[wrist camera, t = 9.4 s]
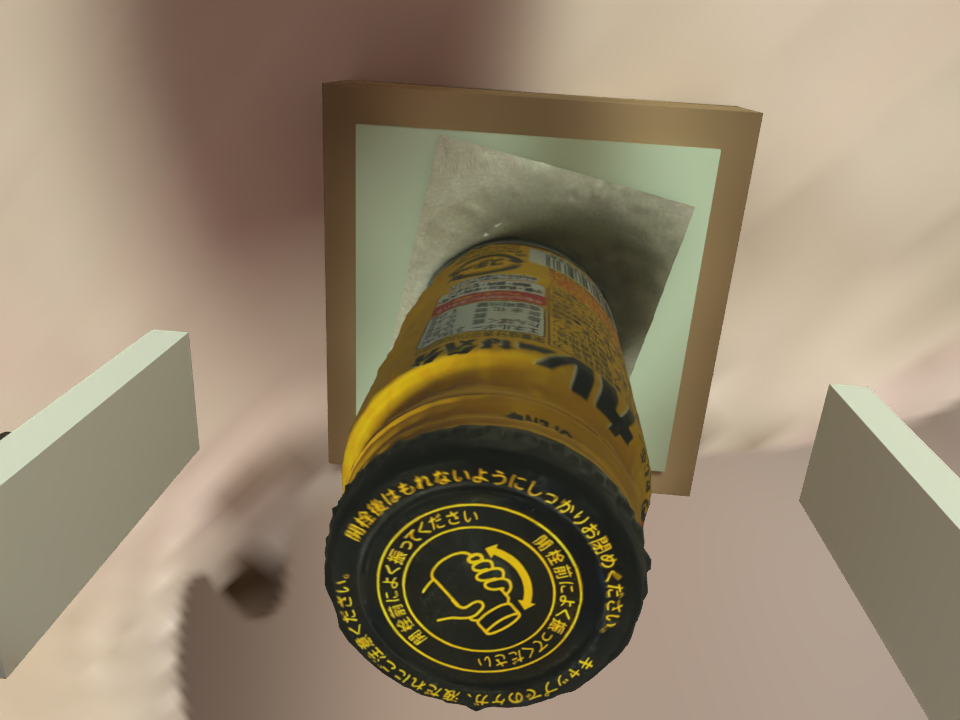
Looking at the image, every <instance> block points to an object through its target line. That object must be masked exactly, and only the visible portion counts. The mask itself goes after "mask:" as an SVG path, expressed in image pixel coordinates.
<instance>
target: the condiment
mask: <svg viewBox="0 0 960 720" xmlns="http://www.w3.org/2000/svg"><path fill="white" fill-rule="evenodd" d="M694 209H695V207H694V206H690V205H687V204H684V203H680V202H677V201H673V200H669V199H665V198H663V197H660V196H657V195H653V194H650V193H646V192H643V191H639V190H636V189H632V188H629V187H625V186H622V185H617V184H614V183H611V182H608V181H605V180H601V179H598V178H594V177H590V176H587V175H583V174H580V173H576V172H573V171H569V170H566V169H562V168H558V167H555V166H552V165H548V164H545V163H543V162H537V161H534V160H530V159H526V158H522V157H518V156H515V155H512V154H508V153H505V152H501V151H498V150H495V149H491V148H488V147H483V146H479V145H476V144H472V143H469V142H465V141H462V140H458V139H455V138H451V137H447V136H444V135H439V139H438V143H437V147H436V152H435V156H434V160H433V164H432V168H431V173H430V177H429V182H428V186H427V190H426V194H425V198H424V202H423V207H422V211H421V217H420V222H419V225H418V229H417V233H416V237H415V241H414V246H413V251H412V255H411V259H410V264H409V268H408V272H407V277H406V281H405V286H404V290H403V295H402V299H401V303H400V307H399V312H398V316H397V320H396V325H395V329H394V333H393V338H392V342H391V346H390V351H389V353H388V354H387V358H386V359H385V360H384V362H383V363H382V364H381V366H380V367H379V369H378V372H377V377H376V379H375V381H374V383H373V385H372V386H371V388H370V391H369V392H368V394H367V396H366V398H365V400H364V402H363V404H362V406H361V408H360V410H359V412H358V414H357V416H356V418H355V420H354V422H353V424H352V426H351V427H350V429H349V435H348V442H347V445H346V449H345V453H344V460H343V466H342V485H343V495H342V497H341V499H340V500H339V501H338V506H336V507H334V508H332V511H333V517H332V520H331V522H330V533H329V535H328V536H327V538H326V548H325V556H326V560H325V586H326V589H327V591H328V594H329V596H330V598H331V600H332V602H333V605H334V607H335V610H336V613H337V617H338V623H339V628H340V629H341V631H342V632H343V634H344V635H345V637H346V638H347V640H348V641H349V642H350V643H351V644H352V645H353V646H354V647H355V648H356V649H357V650H358V651H359V652H360V653H361V654H362V655H363V656H364V657H365V658H366V659H367V660H368V661H369V662H370V663H371V664H373V665H374V666H375V667H376V668H377V669H379V670H380V671H381V672H382V673H384V674H385V675H387V676H388V677H390V678H392V679H393V680H395V681H396V682H398V683H399V684H401V685H403V686H404V687H407V688H410V689H412V690H413V691H415V692H417V693H419V694H421V695H424V696H428V697H433V698H437V699H441V700H443V701H445V702H447V703H453V704H460V705H465V706H467V707H469V708H470V709H473V710H474V711H478V710H481V709H483V708H486V707H505V708H510V707H522V706H528V705H531V704H534V703H538V702H542V701H544V700H547V699H551V698H553V697H555V696H557V695H560V694H563V693H567V692H572V691H574V690H576V689H578V688H579V687H581V686H582V685H583V684H584V683H586V682H587V681H589V680H590V679H592V678H593V677H594V676H595V675H596V674H598V673H599V672H600V671H601V670H602V669H603V668H604V667H605V666H607V665H608V664H609V663H610V662H611V661H613V660H614V659H615V658H616V657H617V656H618V655H619V654H620V653H621V652H622V651H623V650H624V648H625V647H626V646H627V645H628V643H629V641H630V639H631V637H632V634H633V630H634V627H635V623H636V621H637V620H638V617H639V615H640V612H641V609H642V605H643V600H644V599H645V597H646V595H647V593H648V587H647V572H648V570H650V569H651V559H650V557H649V555H648V554H647V552H646V551H645V549H644V535H643V524H644V520H645V516H646V513H647V510H648V507H649V505H650V496H651V493H652V487H651V468H650V464H649V458H648V454H647V449H646V444H645V441H644V436H643V431H642V428H641V424H640V420H639V415H638V412H637V409H636V406H635V401H634V398H633V393H632V388H631V384H630V380H629V379H630V376H631V374H632V372H633V370H634V367H635V363H636V360H637V358H638V355H639V353H640V351H641V348H642V346H643V343H644V342H645V337H646V335H647V333H648V331H649V328H650V326H651V324H652V321H653V319H654V315H655V312H656V309H657V306H658V304H659V301H660V298H661V296H662V294H663V291H664V288H665V285H666V282H667V279H668V277H669V275H670V272H671V269H672V266H673V263H674V261H675V259H676V256H677V254H678V251H679V249H680V246H681V244H682V242H683V239H684V237H685V234H686V231H687V228H688V225H689V222H690V220H691V217H692V215H693V212H694ZM500 223H501V224H500ZM497 224H500V225H499V226H497V227H495V225H497ZM485 233H487V234H489V235H488V236H485V237H484V234H485Z"/></svg>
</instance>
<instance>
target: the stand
mask: <svg viewBox="0 0 960 720" xmlns="http://www.w3.org/2000/svg"><path fill="white" fill-rule="evenodd" d="M322 98H323V156H324V214H325V271H326V329H327V386H328V444H329V463H333V464H343V460H344V453H345V449H346V445H347V442H348V435H349V429H350V427H351V426H352V424H353V422H354V420H355V418H356V416H357V414H358V412H359V410H360V408H361V406H362V404H363V402H364V400H365V398H366V396H367V394H368V392H369V391H370V388H371V386H372V385H373V383H374V381H375V379H376V377H377V372H378V369H379V367H380V366H381V364H382V363H383V362H384V360H385V359H386V358H387V354H388V353H389V351H390V346H391V342H392V338H393V333H394V329H395V325H396V320H397V316H398V312H399V307H400V303H401V299H402V295H403V290H404V286H405V281H406V277H407V272H408V268H409V264H410V259H411V255H412V251H413V246H414V241H415V237H416V233H417V229H418V225H419V222H420V217H421V211H422V207H423V202H424V198H425V194H426V190H427V186H428V182H429V177H430V173H431V168H432V164H433V160H434V156H435V152H436V147H437V143H438V139H439V135H444V136H447V137H451V138H455V139H458V140H462V141H465V142H469V143H472V144H476V145H479V146H483V147H488V148H491V149H495V150H498V151H501V152H505V153H508V154H512V155H515V156H518V157H522V158H526V159H530V160H534V161H537V162H543V163H545V164H548V165H552V166H555V167H558V168H562V169H566V170H569V171H573V172H576V173H580V174H583V175H587V176H590V177H594V178H598V179H601V180H605V181H608V182H611V183H614V184H617V185H622V186H625V187H629V188H632V189H636V190H639V191H643V192H646V193H650V194H653V195H657V196H660V197H663V198H665V199H669V200H673V201H677V202H680V203H684V204H687V205H690V206H694V207H695V209H694V212H693V215H692V217H691V220H690V222H689V225H688V228H687V231H686V234H685V237H684V239H683V242H682V244H681V246H680V249H679V251H678V254H677V256H676V259H675V261H674V263H673V266H672V269H671V272H670V275H669V277H668V279H667V282H666V285H665V288H664V291H663V294H662V296H661V298H660V301H659V304H658V306H657V309H656V312H655V315H654V319H653V321H652V324H651V326H650V328H649V331H648V333H647V335H646V337H645V342H644V343H643V346H642V348H641V351H640V353H639V355H638V358H637V360H636V363H635V367H634V370H633V372H632V374H631V376H630V379H629V380H630V384H631V388H632V393H633V398H634V401H635V406H636V409H637V412H638V415H639V420H640V424H641V428H642V431H643V436H644V441H645V444H646V449H647V454H648V458H649V464H650V468H651V487H652V493H658V494H669V495H679V496H690V491H691V485H692V480H693V475H694V470H695V464H696V459H697V454H698V449H699V444H700V439H701V434H702V428H703V423H704V418H705V413H706V408H707V402H708V397H709V392H710V387H711V382H712V376H713V371H714V366H715V361H716V356H717V350H718V345H719V340H720V335H721V330H722V324H723V319H724V314H725V309H726V304H727V298H728V293H729V288H730V283H731V278H732V272H733V267H734V262H735V257H736V252H737V246H738V241H739V236H740V231H741V226H742V220H743V215H744V210H745V205H746V200H747V194H748V189H749V184H750V179H751V174H752V168H753V163H754V158H755V153H756V148H757V142H758V137H759V132H760V127H761V122H762V116H763V113H760V112H756V111H752V110H749V109H745V108H741V107H737V106H724V105H709V104H694V103H679V102H665V101H650V100H635V99H620V98H605V97H591V96H576V95H561V94H546V93H531V92H517V91H502V90H487V89H472V88H457V87H443V86H428V85H413V84H398V83H383V82H369V81H354V80H345V81H337V82H329V83H322ZM500 224H501V223H500ZM500 224H497V225H495V227H497V226H499V225H500ZM488 235H489V234H487V233H485V234H484V237H485V236H488Z"/></svg>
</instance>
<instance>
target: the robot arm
mask: <svg viewBox="0 0 960 720" xmlns="http://www.w3.org/2000/svg"><path fill="white" fill-rule="evenodd" d="M198 450H199V438H198V428H197V417H196V406H195V395H194V384H193V374H192V363H191V352H190V341H189V332H178V331H166V330H153V329H152V330H151V331H150V332H148V333H147V334H146V335H144V336H143V337H141V338H140V339H139V340H137V341H136V342H135V343H133V344H132V345H130V346H129V347H128V348H126V349H125V350H124V351H122V352H121V353H120V354H118V355H117V356H115V357H114V358H113V359H111V360H110V361H109V362H107V363H106V364H104V365H103V366H102V367H100V368H99V369H98V370H96V371H95V372H93V373H92V374H91V375H89V376H88V377H87V378H85V379H84V380H82V381H81V382H80V383H78V384H77V385H76V386H74V387H73V388H72V389H70V390H69V391H67V392H66V393H65V394H63V395H62V396H61V397H59V398H58V399H56V400H55V401H54V402H52V403H51V404H50V405H48V406H47V407H45V408H44V409H43V410H41V411H40V412H39V413H37V414H36V415H34V416H33V417H32V418H30V419H29V420H28V421H26V422H25V423H24V424H22V425H21V426H19V427H18V428H17V429H15V430H14V431H13V432H4V433H1V434H0V678H3V679H7V677H8V676H9V675H10V674H11V673H12V672H13V670H14V669H15V668H16V667H17V666H18V664H19V663H20V662H21V661H22V660H23V658H24V657H25V656H26V655H27V654H28V652H29V651H30V650H31V649H32V648H33V647H34V645H35V644H36V643H37V642H38V641H39V639H40V638H41V637H42V636H43V635H44V633H45V632H46V631H47V630H48V629H49V627H50V626H51V625H52V624H53V623H54V622H55V620H56V619H57V618H58V617H59V616H60V614H61V613H62V612H63V611H64V610H65V608H66V607H67V606H68V605H69V604H70V602H71V601H72V600H73V599H74V598H75V597H76V595H77V594H78V593H79V592H80V591H81V589H82V588H83V587H84V586H85V585H86V583H87V582H88V581H89V580H90V579H91V577H92V576H93V575H94V574H95V573H96V572H97V570H98V569H99V568H100V567H101V566H102V564H103V563H104V562H105V561H106V560H107V558H108V557H109V556H110V555H111V554H112V552H113V551H114V550H115V549H116V548H117V547H118V545H119V544H120V543H121V542H122V541H123V539H124V538H125V537H126V536H127V535H128V533H129V532H130V531H131V530H132V529H133V528H134V526H135V525H136V524H137V523H138V522H139V520H140V519H141V518H142V517H143V516H144V514H145V513H146V512H147V511H148V510H149V508H150V507H151V506H152V505H153V504H154V503H155V501H156V500H157V499H158V498H159V497H160V495H161V494H162V493H163V492H164V491H165V489H166V488H167V487H168V486H169V485H170V483H171V482H172V481H173V480H174V479H175V478H176V476H177V475H178V474H179V473H180V472H181V470H182V469H183V468H184V467H185V466H186V464H187V463H188V462H189V461H190V460H191V458H192V457H193V456H194V455H195V454H196V453H197V451H198ZM799 501H800V503H801V504H802V506H803V508H804V509H805V511H806V513H807V515H808V516H809V518H810V520H811V521H812V523H813V524H814V526H815V528H816V530H817V531H818V533H819V535H820V536H821V538H822V540H823V541H824V543H825V545H826V547H827V548H828V550H829V552H830V553H831V555H832V557H833V558H834V560H835V562H836V563H837V565H838V567H839V569H840V570H841V572H842V574H843V575H844V577H845V579H846V580H847V582H848V584H849V585H850V587H851V589H852V590H853V592H854V594H855V595H856V597H857V599H858V600H859V602H860V603H861V606H862V607H863V609H864V610H865V612H866V614H867V616H868V617H869V619H870V621H871V622H872V624H873V626H874V628H875V629H876V631H877V633H878V634H879V636H880V638H881V639H882V641H883V643H884V644H885V646H886V648H887V649H888V651H889V653H890V655H891V656H892V658H893V660H894V661H895V663H896V664H897V666H898V668H899V670H900V671H901V673H902V675H903V676H904V678H905V680H906V682H907V683H908V685H909V687H910V688H911V690H912V692H913V693H914V695H915V697H916V698H917V700H918V702H919V703H920V705H921V707H922V708H923V710H924V712H925V713H926V715H927V717H928V719H929V720H960V478H959V477H958V476H957V475H956V474H955V473H954V472H953V471H952V470H951V469H950V468H949V467H948V466H947V465H946V464H945V463H944V462H943V461H942V460H941V459H940V458H939V457H938V456H937V455H936V454H935V453H934V452H933V451H932V450H931V449H930V448H929V447H928V446H927V445H926V444H925V443H924V442H923V441H922V440H921V439H920V438H919V437H918V436H917V435H916V434H915V433H914V432H913V431H912V430H911V429H910V428H909V427H908V426H907V425H906V424H905V423H904V422H903V421H902V420H901V419H900V418H899V417H898V416H897V415H896V414H895V413H894V412H893V411H892V410H891V409H890V408H889V407H888V406H887V405H886V404H885V403H884V402H883V401H882V400H881V399H880V398H879V397H878V396H877V395H876V394H875V393H874V392H873V391H872V390H871V389H870V388H869V387H864V386H851V385H839V384H829V388H828V391H827V395H826V399H825V403H824V407H823V411H822V415H821V419H820V422H819V426H818V430H817V434H816V438H815V442H814V446H813V449H812V453H811V457H810V461H809V465H808V469H807V473H806V476H805V480H804V484H803V488H802V492H801V496H800V500H799Z"/></svg>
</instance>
